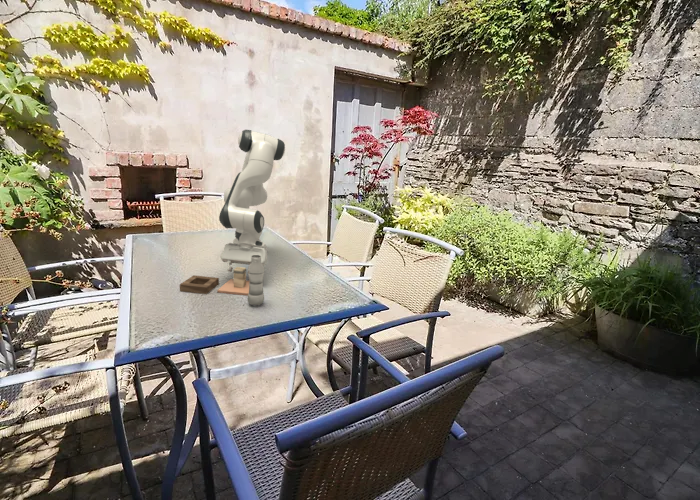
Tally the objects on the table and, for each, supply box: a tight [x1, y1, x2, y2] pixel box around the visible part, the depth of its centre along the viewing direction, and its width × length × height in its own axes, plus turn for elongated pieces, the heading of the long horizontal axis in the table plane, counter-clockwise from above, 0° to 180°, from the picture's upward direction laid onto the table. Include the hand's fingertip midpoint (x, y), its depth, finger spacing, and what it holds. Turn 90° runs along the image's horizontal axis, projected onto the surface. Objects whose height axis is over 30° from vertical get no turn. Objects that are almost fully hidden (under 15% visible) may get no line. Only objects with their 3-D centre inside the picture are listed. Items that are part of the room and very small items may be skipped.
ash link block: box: [232, 266, 247, 288], centre depth 153 cm, size 4×4×8 cm
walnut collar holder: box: [179, 275, 220, 295], centre depth 151 cm, size 12×12×3 cm
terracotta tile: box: [216, 278, 249, 297], centre depth 154 cm, size 14×14×1 cm
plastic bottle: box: [247, 255, 265, 307], centre depth 138 cm, size 6×7×20 cm
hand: (240, 272), depth 154 cm, fingers open, 8 cm apart
